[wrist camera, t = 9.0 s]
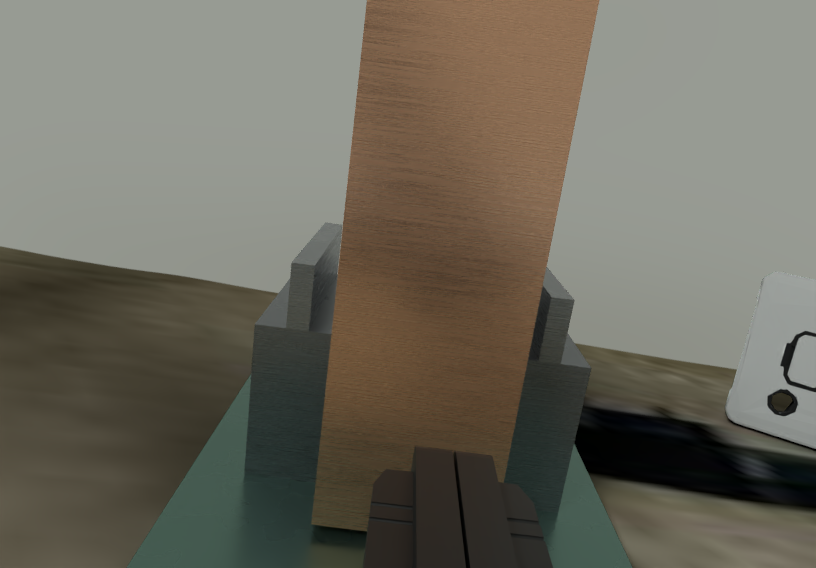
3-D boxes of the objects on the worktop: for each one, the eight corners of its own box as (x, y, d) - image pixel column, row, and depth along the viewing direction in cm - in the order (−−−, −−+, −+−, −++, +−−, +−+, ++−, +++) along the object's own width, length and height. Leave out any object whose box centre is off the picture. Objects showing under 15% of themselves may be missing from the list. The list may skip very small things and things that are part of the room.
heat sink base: (5, 803, 13) (-28, 195, 10) (283, 338, 40) (300, 134, 37) (749, 887, 13) (971, 329, 10) (528, 370, 40) (567, 171, 37)
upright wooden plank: (311, 524, 21) (375, -81, 16) (348, 380, 32) (393, -1, 27) (490, 546, 21) (608, -48, 16) (465, 395, 32) (530, 18, 27)
